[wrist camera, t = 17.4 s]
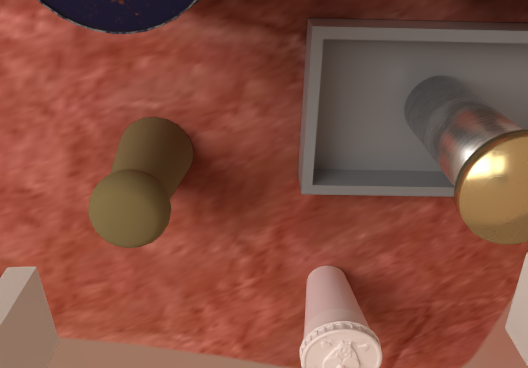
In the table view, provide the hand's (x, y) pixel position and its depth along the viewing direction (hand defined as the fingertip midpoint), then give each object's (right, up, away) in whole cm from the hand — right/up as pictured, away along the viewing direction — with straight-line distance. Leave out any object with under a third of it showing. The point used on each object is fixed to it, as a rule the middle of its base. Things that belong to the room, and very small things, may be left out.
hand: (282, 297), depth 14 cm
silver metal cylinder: (+13, +9, +25) cm, 29 cm away
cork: (-9, +6, +27) cm, 29 cm away
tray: (+13, +9, +25) cm, 30 cm away
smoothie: (+5, -6, +33) cm, 34 cm away
